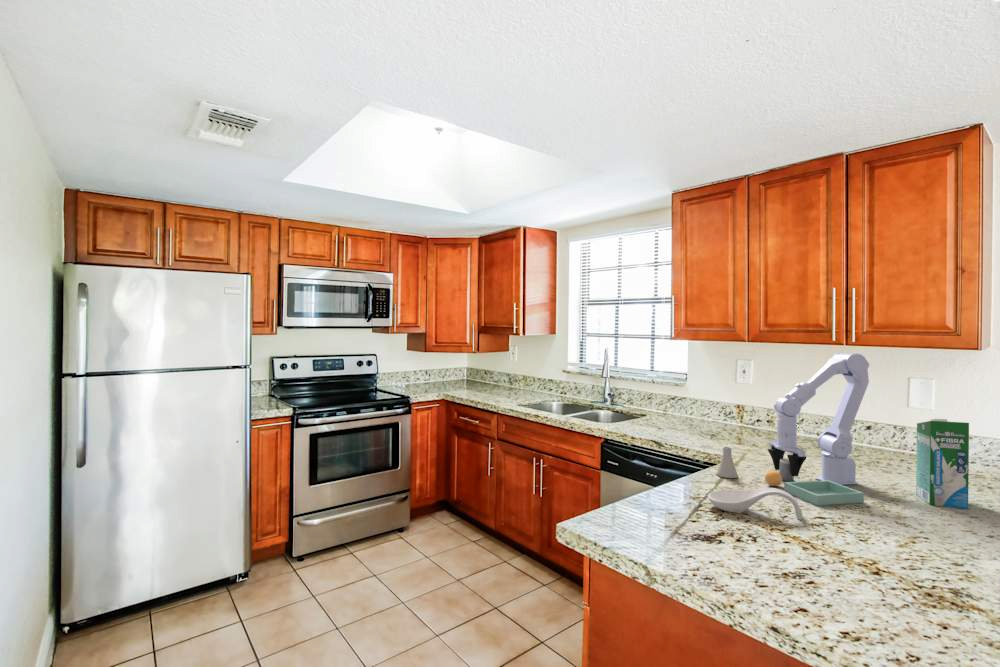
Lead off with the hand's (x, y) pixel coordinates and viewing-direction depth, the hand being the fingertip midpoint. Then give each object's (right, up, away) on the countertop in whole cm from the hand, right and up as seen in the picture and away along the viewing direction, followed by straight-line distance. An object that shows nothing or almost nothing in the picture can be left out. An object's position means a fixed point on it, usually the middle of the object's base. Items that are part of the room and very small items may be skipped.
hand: (786, 472), depth 171 cm
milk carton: (+34, -3, -21) cm, 41 cm away
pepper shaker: (0, -3, 0) cm, 3 cm away
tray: (+1, -3, -18) cm, 18 cm away
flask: (-18, -3, +5) cm, 19 cm away
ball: (-8, 0, -7) cm, 10 cm away
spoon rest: (-27, -3, -30) cm, 41 cm away
